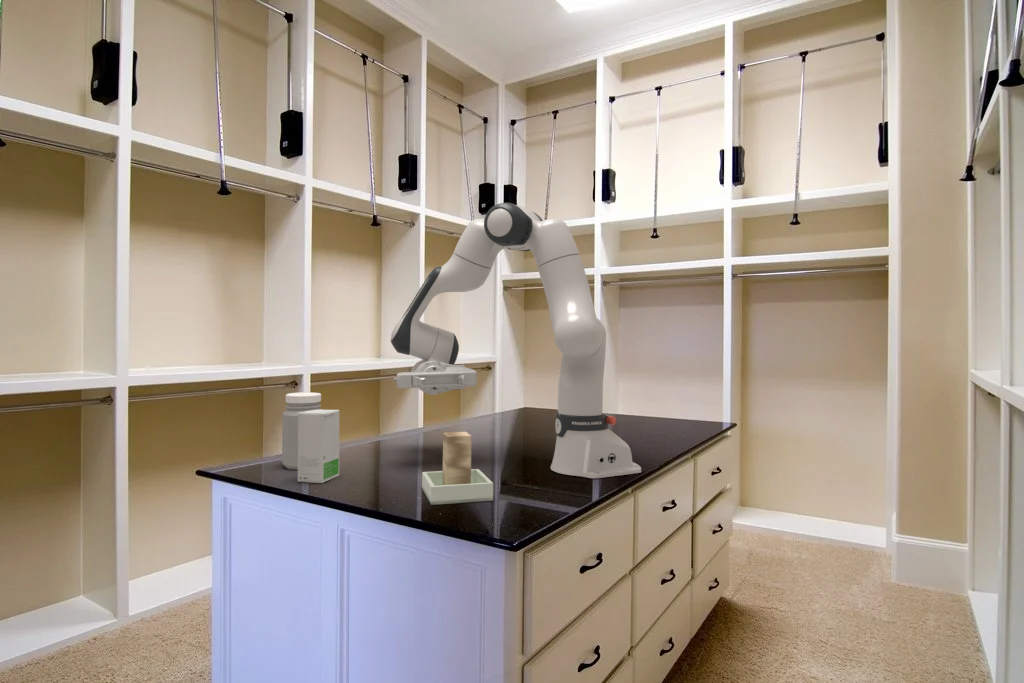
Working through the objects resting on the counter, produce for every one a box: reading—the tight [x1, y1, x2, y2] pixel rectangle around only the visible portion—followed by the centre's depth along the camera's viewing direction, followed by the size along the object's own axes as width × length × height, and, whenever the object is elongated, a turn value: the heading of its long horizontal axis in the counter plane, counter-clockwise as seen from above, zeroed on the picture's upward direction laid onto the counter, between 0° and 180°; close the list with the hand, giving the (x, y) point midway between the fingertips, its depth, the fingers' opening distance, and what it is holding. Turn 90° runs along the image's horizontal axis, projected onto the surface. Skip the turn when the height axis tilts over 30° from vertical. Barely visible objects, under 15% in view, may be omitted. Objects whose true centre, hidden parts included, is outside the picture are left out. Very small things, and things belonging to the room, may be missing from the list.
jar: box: [281, 391, 323, 471], centre depth 145 cm, size 10×10×18 cm
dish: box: [421, 468, 494, 506], centre depth 122 cm, size 13×13×4 cm
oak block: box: [442, 431, 472, 485], centre depth 122 cm, size 5×5×12 cm
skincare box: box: [297, 409, 340, 484], centre depth 133 cm, size 8×7×16 cm
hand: (442, 381), depth 140 cm, fingers open, 8 cm apart
